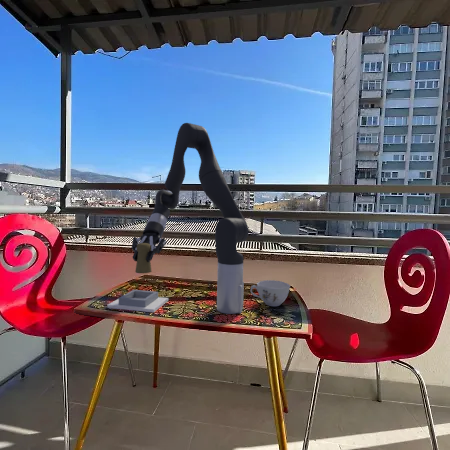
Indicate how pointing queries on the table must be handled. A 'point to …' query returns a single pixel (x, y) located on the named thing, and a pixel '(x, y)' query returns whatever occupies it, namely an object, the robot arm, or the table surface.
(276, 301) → the teacup
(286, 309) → the table surface
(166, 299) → the socket board
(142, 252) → the cork
